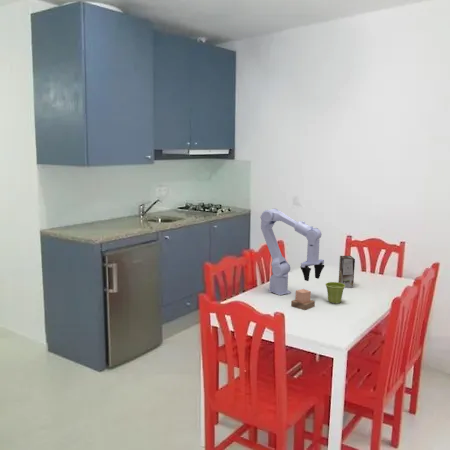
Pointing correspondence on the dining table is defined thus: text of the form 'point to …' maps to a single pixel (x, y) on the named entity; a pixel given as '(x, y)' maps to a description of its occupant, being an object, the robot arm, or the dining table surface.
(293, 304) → the walnut block
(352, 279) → the coffee box
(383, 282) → the dining table surface
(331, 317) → the dining table surface
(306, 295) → the terracotta cube
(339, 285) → the plant pot
